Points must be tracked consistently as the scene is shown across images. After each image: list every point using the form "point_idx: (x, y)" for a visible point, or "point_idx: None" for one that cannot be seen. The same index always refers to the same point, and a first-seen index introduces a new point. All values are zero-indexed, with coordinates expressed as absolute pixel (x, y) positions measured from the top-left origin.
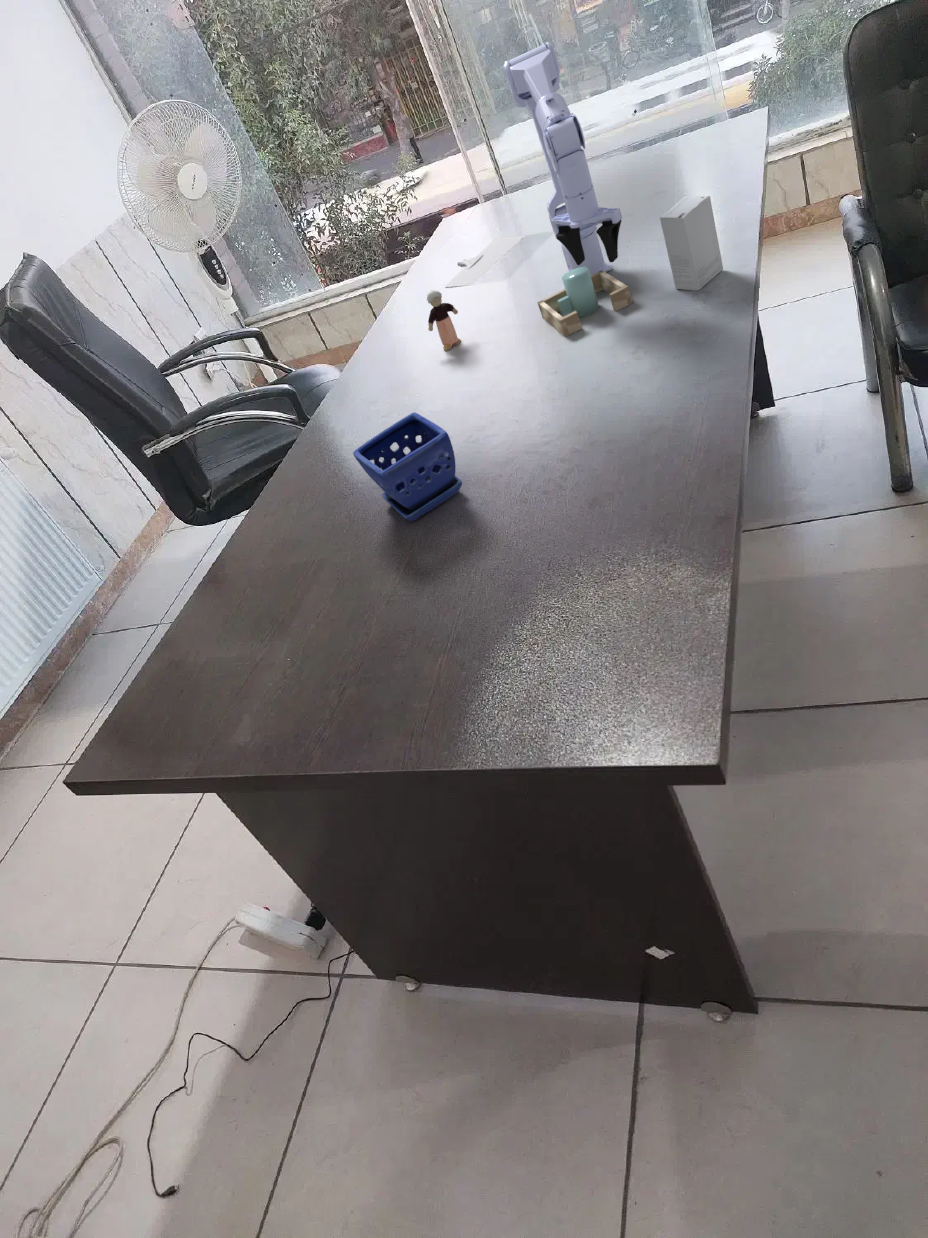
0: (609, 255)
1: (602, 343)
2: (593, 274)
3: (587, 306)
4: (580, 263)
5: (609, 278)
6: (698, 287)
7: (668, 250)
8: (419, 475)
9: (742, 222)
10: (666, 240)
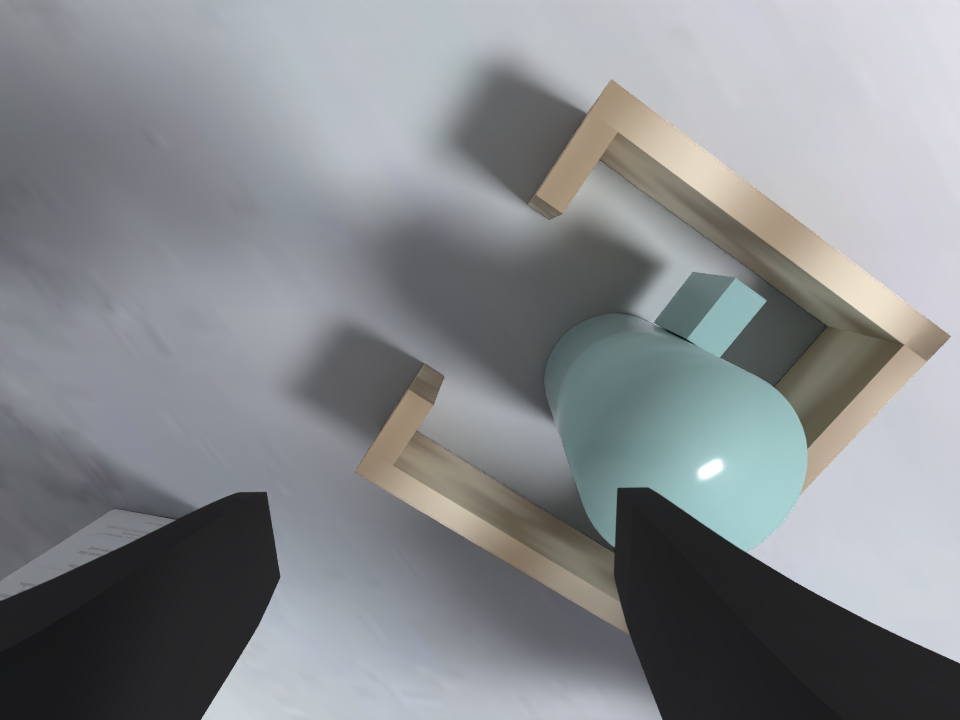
0: (184, 518)
1: (292, 45)
2: None
3: (568, 347)
4: (617, 503)
5: (542, 562)
6: (101, 517)
7: None
8: None
9: None
10: None
